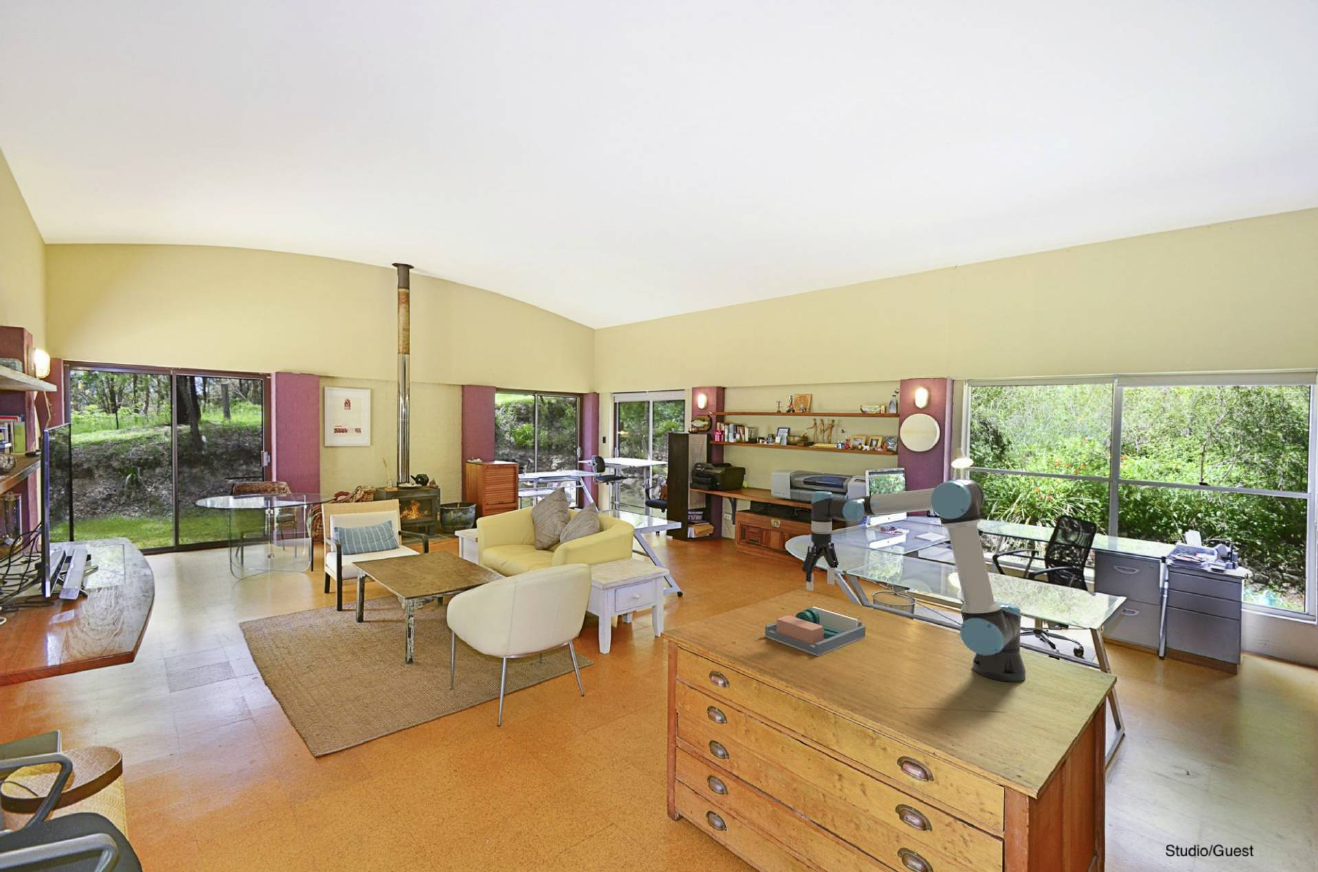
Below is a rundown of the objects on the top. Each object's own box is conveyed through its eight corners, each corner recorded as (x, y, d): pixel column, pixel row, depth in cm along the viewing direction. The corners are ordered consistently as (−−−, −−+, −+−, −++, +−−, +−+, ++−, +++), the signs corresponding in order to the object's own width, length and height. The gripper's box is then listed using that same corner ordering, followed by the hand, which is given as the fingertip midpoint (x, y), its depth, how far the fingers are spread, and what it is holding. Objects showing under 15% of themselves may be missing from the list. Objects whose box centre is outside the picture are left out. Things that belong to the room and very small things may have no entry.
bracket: (795, 630, 231) (795, 610, 230) (803, 626, 235) (804, 606, 235) (837, 642, 218) (838, 621, 218) (846, 637, 223) (846, 617, 223)
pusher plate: (813, 620, 241) (813, 606, 241) (858, 635, 226) (858, 619, 225) (811, 621, 241) (811, 606, 240) (856, 635, 225) (856, 620, 225)
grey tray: (812, 620, 244) (812, 607, 244) (865, 637, 226) (865, 622, 225) (765, 636, 225) (765, 622, 225) (818, 656, 206) (818, 640, 206)
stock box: (788, 632, 227) (788, 614, 227) (823, 645, 215) (823, 626, 215) (776, 637, 223) (776, 618, 223) (811, 649, 211) (812, 630, 210)
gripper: (831, 527, 237) (830, 579, 237) (793, 534, 221) (792, 590, 222) (848, 529, 231) (847, 583, 232) (809, 537, 215) (808, 594, 216)
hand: (820, 587), depth 227 cm, fingers open, 13 cm apart
